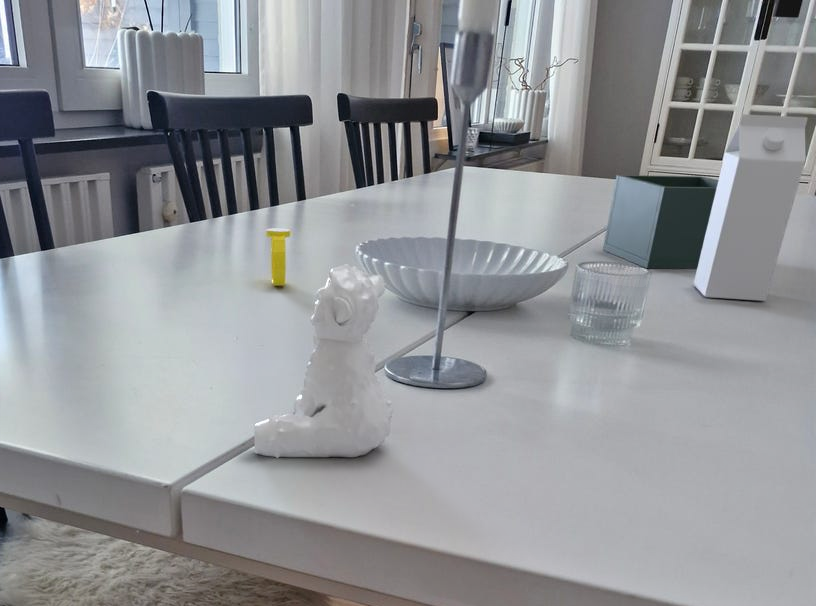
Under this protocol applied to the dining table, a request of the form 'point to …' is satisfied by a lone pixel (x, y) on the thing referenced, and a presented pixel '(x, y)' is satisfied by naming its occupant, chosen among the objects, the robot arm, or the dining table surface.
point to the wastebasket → (660, 220)
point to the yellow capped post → (278, 254)
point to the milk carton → (751, 207)
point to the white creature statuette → (335, 379)
